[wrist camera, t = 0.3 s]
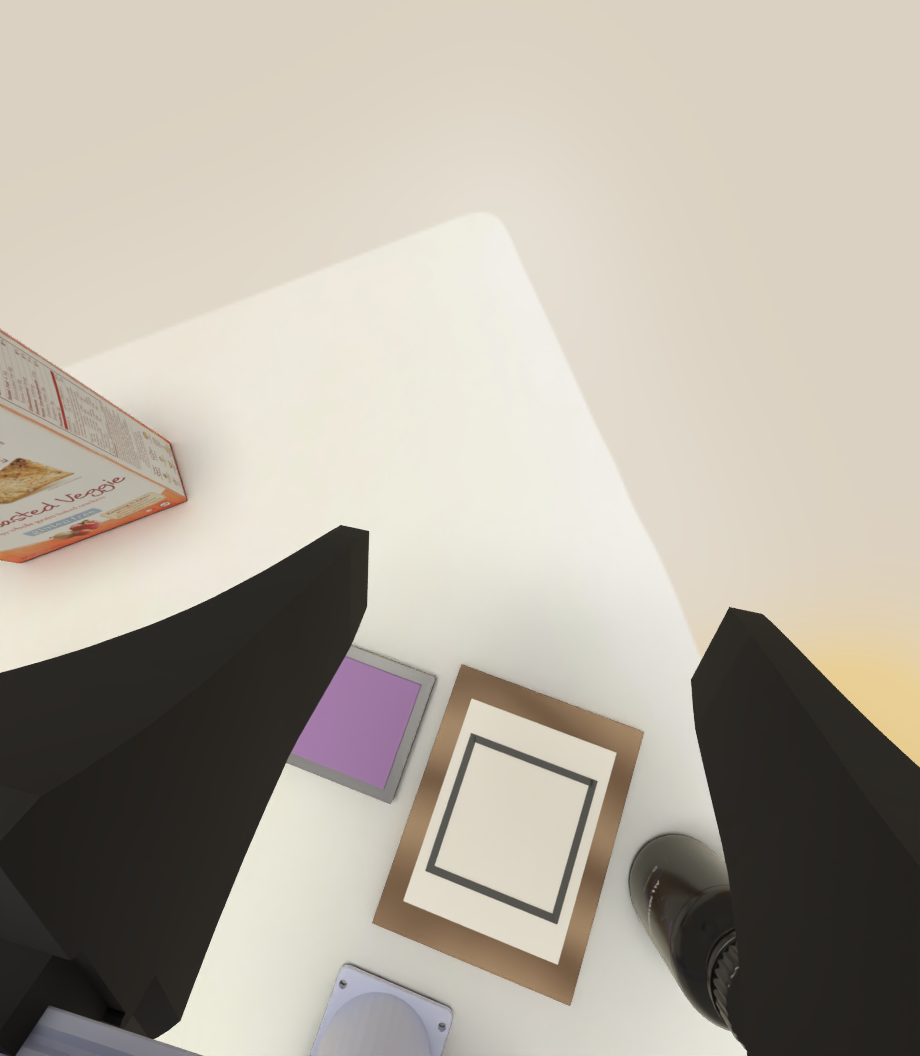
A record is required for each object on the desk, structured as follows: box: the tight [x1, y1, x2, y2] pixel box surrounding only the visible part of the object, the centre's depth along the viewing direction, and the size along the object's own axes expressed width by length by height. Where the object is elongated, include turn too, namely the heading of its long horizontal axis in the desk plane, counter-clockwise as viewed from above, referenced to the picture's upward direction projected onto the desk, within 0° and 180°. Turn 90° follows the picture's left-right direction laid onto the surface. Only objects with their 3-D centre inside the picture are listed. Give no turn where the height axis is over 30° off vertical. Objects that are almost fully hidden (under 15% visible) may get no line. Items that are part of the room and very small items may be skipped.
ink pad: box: [286, 645, 436, 804], centre depth 38 cm, size 9×9×2 cm
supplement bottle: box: [630, 835, 747, 1050], centre depth 30 cm, size 7×7×12 cm
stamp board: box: [372, 665, 644, 1006], centre depth 37 cm, size 18×14×1 cm
